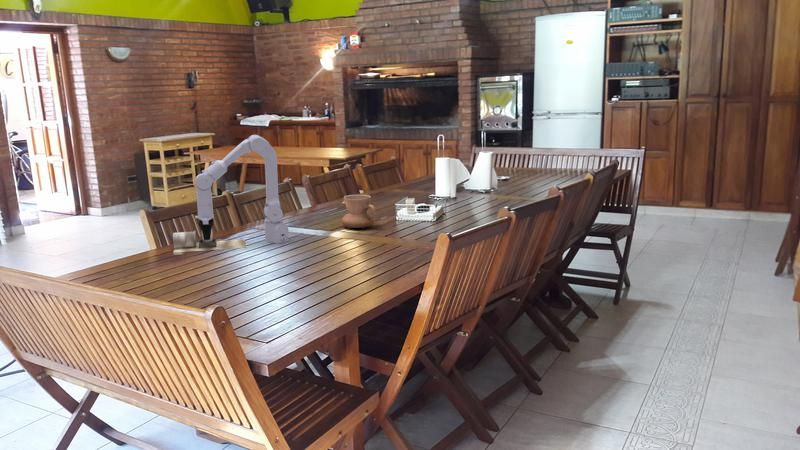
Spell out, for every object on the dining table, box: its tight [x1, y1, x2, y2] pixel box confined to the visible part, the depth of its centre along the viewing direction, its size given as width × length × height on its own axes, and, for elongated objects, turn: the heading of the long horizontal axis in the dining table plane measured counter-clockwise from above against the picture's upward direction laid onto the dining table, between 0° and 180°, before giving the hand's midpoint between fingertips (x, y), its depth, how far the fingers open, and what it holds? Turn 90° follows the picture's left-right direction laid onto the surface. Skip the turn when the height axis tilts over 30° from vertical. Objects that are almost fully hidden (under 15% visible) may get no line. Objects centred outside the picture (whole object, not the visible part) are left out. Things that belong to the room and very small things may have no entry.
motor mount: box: [172, 230, 247, 256], centre depth 251 cm, size 27×14×7 cm, turn 106°
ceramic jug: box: [341, 194, 376, 229], centre depth 285 cm, size 18×14×14 cm
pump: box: [201, 228, 214, 243], centre depth 250 cm, size 4×4×7 cm
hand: (207, 238), depth 250 cm, fingers closed on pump, 4 cm apart
